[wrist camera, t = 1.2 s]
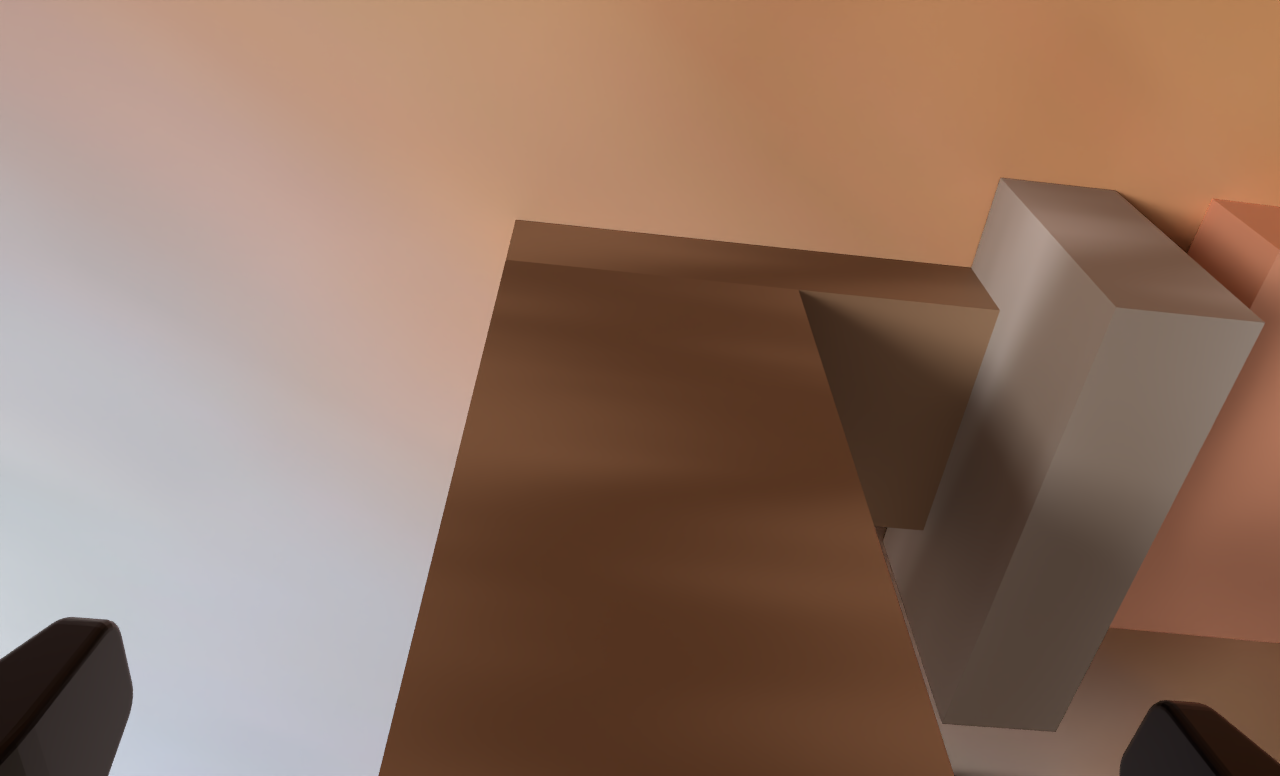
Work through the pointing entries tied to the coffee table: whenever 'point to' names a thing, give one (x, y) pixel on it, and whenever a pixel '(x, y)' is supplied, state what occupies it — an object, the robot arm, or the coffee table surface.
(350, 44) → the coffee table surface
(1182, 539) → the tile
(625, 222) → the coffee table surface
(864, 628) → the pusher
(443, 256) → the coffee table surface
